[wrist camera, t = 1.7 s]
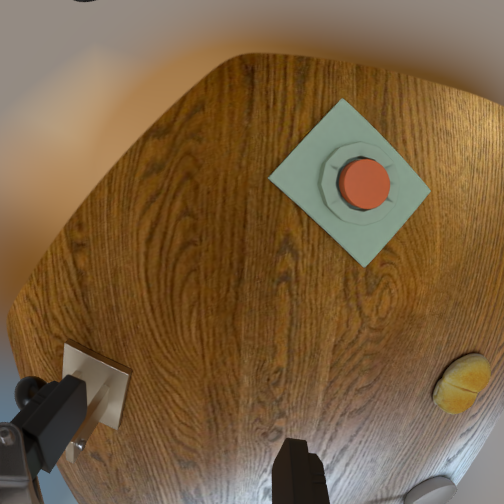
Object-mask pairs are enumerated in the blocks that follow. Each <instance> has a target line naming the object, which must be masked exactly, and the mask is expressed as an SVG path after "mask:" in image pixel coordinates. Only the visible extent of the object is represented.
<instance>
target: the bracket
mask: <svg viewBox="0 0 504 504" xmlns="http://www.w3.org/2000/svg"><path fill="white" fill-rule="evenodd" d="M131 373H132V369H130V368H127V367H125V366H123V365H121V364H119V363H117V362H114V361H112V360H110V359H108V358H106V357H104V356H102V355H100V354H98V353H96V352H94V351H92V350H90V349H88V348H86V347H84V346H82V345H80V344H78V343H76V342H75V341H73V340H71V339H68V340H67V341H66V342H65V346H64V359H63V376H62V379H63V378H64V377H65V376H66V375H68V374H70V375H72V376H74V377H77V378H79V379H81V380H84V381H85V382H86V389H87V406H88V408H87V414H86V417H85V420H84V421H83V423H82V424H81V426H80V427H79V429H78V430H77V432H76V433H75V435H74V436H73V438H72V439H71V441H70V443H69V444H68V446H67V447H66V460H68V461H70V462H71V463H74V462H75V461H76V459H77V457H78V456H79V454H80V452H81V451H83V449H84V448H85V445H86V442H87V441H88V439H89V437H90V436H91V434H92V432H93V431H94V429H95V427H96V426H97V424H98V422H101V423H103V424H105V425H107V426H110V427H112V428H114V429H116V430H118V429H119V427H120V425H121V419H122V414H123V409H124V405H125V400H126V395H127V391H128V386H129V382H130V377H131Z"/></svg>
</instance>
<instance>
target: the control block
mask: <svg viewBox="0 0 504 504" xmlns="http://www.w3.org/2000/svg"><path fill="white" fill-rule="evenodd" d="M361 159H371V160H374V161H376V162H378V163H379V164H381V165H382V166H383V167H384V168H385V170H386V171H387V173H388V176H389V179H390V191H389V194H388V196H387V198H386V200H385V201H384V202H383V203H382V204H381V205H380V206H378V207H376V208H373V209H362V208H359V207H356V206H353V205H351V204H350V203H348V202H347V201H346V200H345V199H344V198H343V196H342V194H341V192H340V188H339V177H340V174H341V172H342V170H343V169H344V167H345V166H346V165H347V164H349V163H351V162H353V161H356V160H361ZM268 179H269V180H270V181H271V182H272V183H274V184H275V185H276V186H277V187H278V188H279V189H280V190H281V191H283V192H284V193H285V194H286V195H287V196H288V197H289V198H290V199H291V200H293V201H294V202H295V203H296V204H297V205H298V206H299V207H300V208H301V209H302V210H304V211H305V212H306V213H307V214H308V215H309V216H310V217H311V218H312V219H313V220H314V221H315V222H316V223H318V224H319V225H320V226H321V227H322V228H323V229H324V230H325V231H326V232H327V233H328V234H329V235H330V236H331V237H332V238H333V239H334V240H336V241H337V242H338V243H339V244H340V245H341V246H342V247H343V248H344V249H345V250H346V251H347V252H348V253H349V254H350V255H351V256H352V257H353V258H354V259H355V260H356V261H357V262H358V263H359V264H360V265H361V266H363V267H364V268H365V267H366V266H367V265H368V264H369V263H370V261H371V260H372V259H373V258H374V257H375V256H376V255H377V254H378V253H379V252H380V250H381V249H382V248H383V247H384V246H385V245H386V244H387V243H388V241H389V240H390V239H391V238H392V237H393V236H394V235H395V233H396V232H397V231H398V230H399V229H400V228H401V226H402V225H403V224H404V223H405V222H406V221H407V219H408V218H409V217H410V216H411V215H412V214H413V212H414V211H415V210H416V209H417V207H418V206H419V205H420V204H421V203H422V201H423V200H424V199H425V198H426V196H427V195H428V194H429V193H430V192H431V190H430V189H429V188H428V187H427V186H426V184H425V183H424V182H423V181H422V180H421V178H420V177H419V176H418V175H417V174H416V173H415V171H414V170H413V169H412V168H411V167H410V166H409V165H408V163H407V162H406V161H405V160H404V159H403V158H402V157H401V156H400V155H399V153H398V152H397V151H396V150H395V149H394V148H393V147H392V146H391V145H390V144H389V143H388V142H387V141H386V140H385V139H384V138H383V137H382V136H381V134H380V133H379V132H378V131H377V130H376V129H375V128H374V127H373V126H372V125H371V124H370V123H369V122H368V121H367V120H365V119H364V118H363V117H362V116H361V115H360V114H359V113H358V112H357V111H356V110H355V109H354V108H353V107H352V106H351V105H350V104H349V103H348V102H346V101H345V100H344V99H343V98H342V99H341V100H340V101H339V102H338V103H337V104H336V105H335V106H334V107H333V108H332V109H331V110H330V111H329V112H328V113H327V114H326V115H325V116H324V117H323V118H322V120H321V121H320V122H319V123H318V124H317V125H316V126H315V127H314V128H313V129H312V130H311V131H310V132H309V133H308V135H307V136H306V137H305V138H304V139H303V140H302V141H301V142H300V143H299V144H298V145H297V146H296V148H295V149H294V150H293V151H292V152H291V153H290V154H289V155H288V156H287V157H286V158H285V160H284V161H283V162H282V163H281V164H280V165H279V166H278V167H277V168H276V169H275V171H274V172H273V173H272V174H271V175H270V176H269V177H268Z"/></svg>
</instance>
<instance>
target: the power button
mask: <svg viewBox="0 0 504 504" xmlns="http://www.w3.org/2000/svg"><path fill="white" fill-rule="evenodd" d="M339 188H340V192H341V194H342V196H343V198H344V199H345V200H346V201H347V202H348V203H350V204H351V205H353V206H356V207H359V208H362V209H373V208H376V207H378V206H380V205H381V204H382V203H383V202H384V201H385V200H386V198H387V196H388V194H389V191H390V179H389V176H388V173H387V171H386V170H385V168H384V167H383V166H382V165H381V164H379V163H378V162H376V161H374V160H371V159H361V160H356V161H353V162H351V163H349V164H347V165H346V166H345V167H344V169H343V170H342V172H341V174H340V177H339Z"/></svg>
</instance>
